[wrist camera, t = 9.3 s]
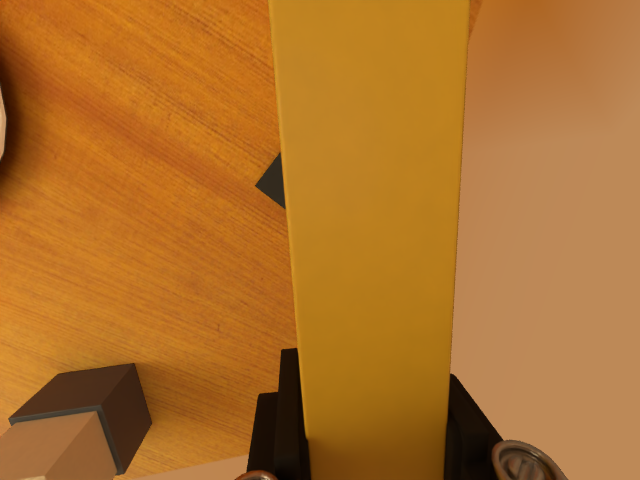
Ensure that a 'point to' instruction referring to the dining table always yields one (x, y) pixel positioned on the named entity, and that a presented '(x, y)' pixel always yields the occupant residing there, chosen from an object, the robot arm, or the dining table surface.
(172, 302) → the dining table surface
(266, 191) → the mat
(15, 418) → the tower
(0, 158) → the plate
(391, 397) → the bar
